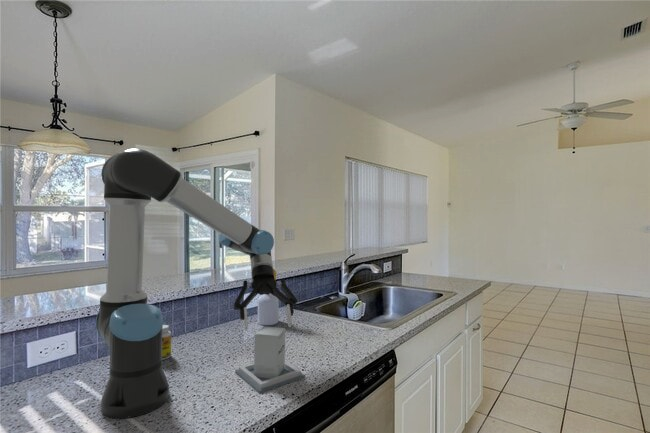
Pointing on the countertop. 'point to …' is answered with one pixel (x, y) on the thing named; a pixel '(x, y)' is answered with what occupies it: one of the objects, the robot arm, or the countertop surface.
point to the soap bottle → (268, 308)
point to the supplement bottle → (166, 342)
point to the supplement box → (269, 352)
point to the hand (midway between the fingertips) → (268, 326)
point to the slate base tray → (266, 384)
